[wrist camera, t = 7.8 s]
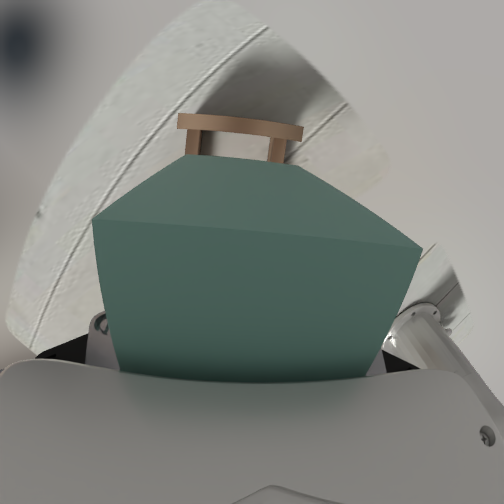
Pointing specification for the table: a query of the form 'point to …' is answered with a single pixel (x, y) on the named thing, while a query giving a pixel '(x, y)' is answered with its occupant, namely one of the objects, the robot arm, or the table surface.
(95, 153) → the table surface
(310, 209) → the teal rectangular block
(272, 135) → the book slot
